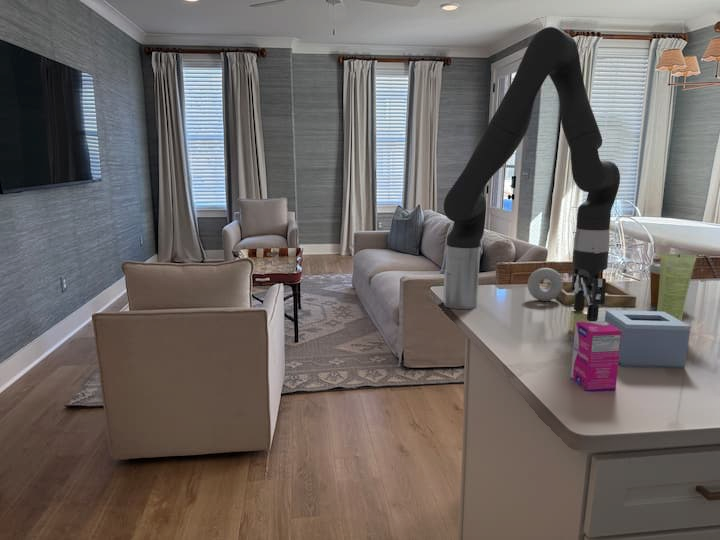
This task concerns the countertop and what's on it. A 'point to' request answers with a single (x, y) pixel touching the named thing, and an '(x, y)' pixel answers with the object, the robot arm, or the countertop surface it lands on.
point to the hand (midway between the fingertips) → (585, 315)
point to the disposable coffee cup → (654, 282)
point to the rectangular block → (577, 319)
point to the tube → (674, 282)
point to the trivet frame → (617, 297)
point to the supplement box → (596, 355)
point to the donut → (551, 291)
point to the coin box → (650, 338)
